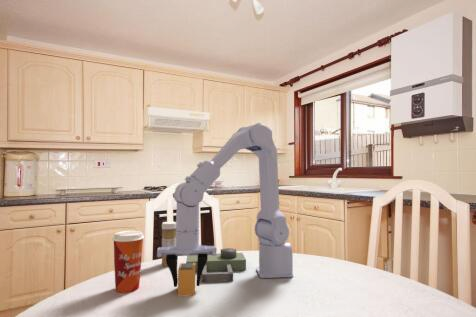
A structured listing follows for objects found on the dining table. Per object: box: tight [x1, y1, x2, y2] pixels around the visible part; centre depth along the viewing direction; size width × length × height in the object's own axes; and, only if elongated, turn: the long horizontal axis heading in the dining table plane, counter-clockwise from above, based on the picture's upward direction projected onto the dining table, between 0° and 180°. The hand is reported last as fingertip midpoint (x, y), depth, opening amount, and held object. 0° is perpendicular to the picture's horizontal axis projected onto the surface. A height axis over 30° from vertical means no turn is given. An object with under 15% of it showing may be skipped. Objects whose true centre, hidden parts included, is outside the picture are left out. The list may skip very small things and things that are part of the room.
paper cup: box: [112, 230, 145, 294], centre depth 75 cm, size 8×8×14 cm
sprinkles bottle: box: [161, 221, 176, 267], centre depth 94 cm, size 5×5×13 cm
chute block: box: [177, 262, 196, 297], centre depth 73 cm, size 4×5×6 cm
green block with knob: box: [185, 247, 247, 283], centre depth 88 cm, size 18×17×5 cm
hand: (186, 284), depth 73 cm, fingers open, 5 cm apart
